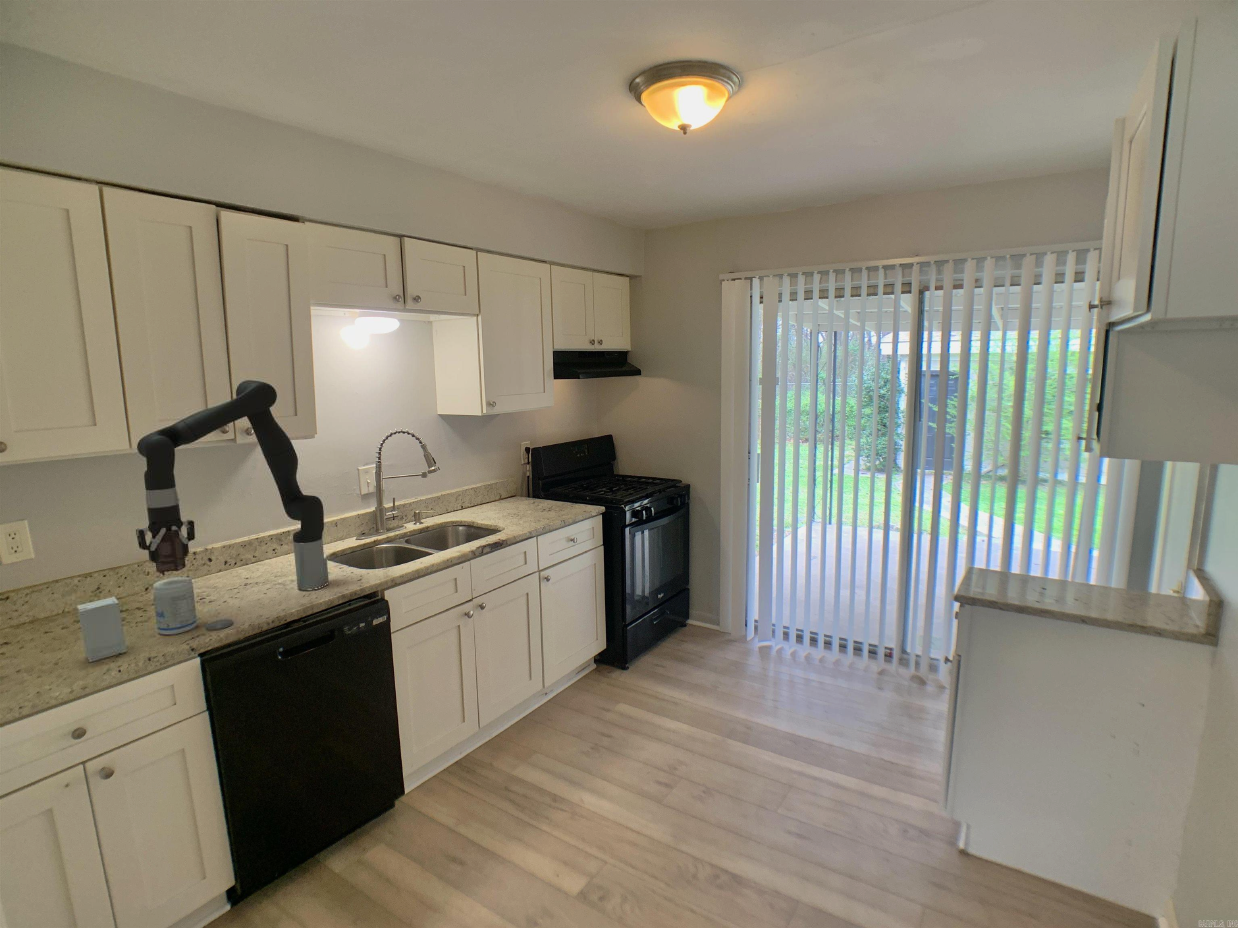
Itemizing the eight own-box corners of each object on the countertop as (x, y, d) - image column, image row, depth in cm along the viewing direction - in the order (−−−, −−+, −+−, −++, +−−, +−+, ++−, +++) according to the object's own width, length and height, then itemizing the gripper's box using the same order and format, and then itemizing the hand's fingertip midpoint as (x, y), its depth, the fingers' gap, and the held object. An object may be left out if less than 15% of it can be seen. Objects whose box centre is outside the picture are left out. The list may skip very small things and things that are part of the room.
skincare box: (123, 646, 170) (116, 595, 168) (127, 652, 166) (120, 600, 164) (84, 656, 164) (76, 603, 162) (87, 663, 160) (79, 609, 158)
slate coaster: (227, 619, 188) (226, 617, 188) (237, 624, 184) (237, 622, 184) (201, 627, 182) (201, 625, 182) (212, 632, 178) (211, 630, 178)
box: (186, 566, 181) (181, 527, 179) (177, 571, 177) (172, 531, 175) (165, 567, 181) (160, 528, 179) (155, 572, 176) (150, 532, 174)
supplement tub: (150, 632, 179) (144, 584, 177) (184, 620, 187) (179, 574, 185) (170, 638, 175) (164, 589, 173) (204, 625, 184) (199, 578, 181)
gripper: (185, 498, 184) (192, 551, 186) (127, 506, 172) (135, 563, 174) (196, 500, 179) (203, 554, 182) (137, 509, 168) (145, 567, 170)
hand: (169, 558), depth 178 cm, fingers closed on box, 7 cm apart
